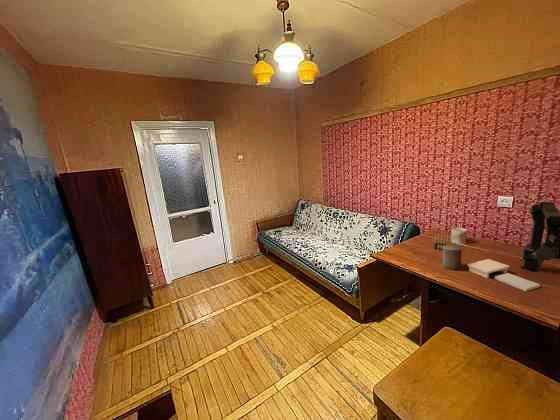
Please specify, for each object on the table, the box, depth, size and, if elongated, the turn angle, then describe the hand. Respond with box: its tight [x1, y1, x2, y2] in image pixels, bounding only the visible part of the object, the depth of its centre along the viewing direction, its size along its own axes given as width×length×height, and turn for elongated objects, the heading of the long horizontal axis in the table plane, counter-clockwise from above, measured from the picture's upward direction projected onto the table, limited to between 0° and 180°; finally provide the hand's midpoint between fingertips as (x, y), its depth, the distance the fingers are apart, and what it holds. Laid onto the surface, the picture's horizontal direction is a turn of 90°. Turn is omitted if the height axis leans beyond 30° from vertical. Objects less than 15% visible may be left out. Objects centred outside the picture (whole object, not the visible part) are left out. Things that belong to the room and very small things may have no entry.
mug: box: [450, 227, 468, 245], centre depth 184 cm, size 10×12×11 cm
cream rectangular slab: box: [467, 258, 510, 279], centre depth 137 cm, size 17×11×4 cm, turn 105°
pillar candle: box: [442, 244, 463, 271], centre depth 146 cm, size 10×10×15 cm
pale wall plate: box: [494, 272, 541, 292], centre depth 124 cm, size 10×14×2 cm
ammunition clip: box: [433, 234, 453, 251], centre depth 173 cm, size 11×2×12 cm, turn 55°
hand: (549, 271), depth 110 cm, fingers open, 8 cm apart
